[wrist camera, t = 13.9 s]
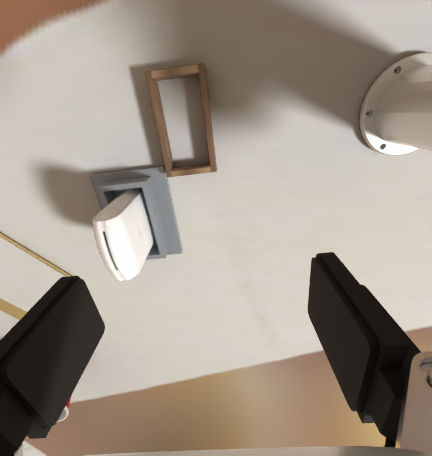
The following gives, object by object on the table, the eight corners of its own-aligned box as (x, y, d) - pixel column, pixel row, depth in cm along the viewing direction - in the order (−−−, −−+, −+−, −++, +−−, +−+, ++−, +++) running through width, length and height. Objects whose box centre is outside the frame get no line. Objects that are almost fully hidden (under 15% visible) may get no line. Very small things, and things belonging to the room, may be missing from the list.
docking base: (164, 165, 37) (158, 171, 34) (182, 250, 44) (179, 262, 41) (92, 174, 38) (79, 180, 34) (121, 256, 45) (113, 268, 41)
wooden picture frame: (204, 66, 31) (203, 63, 29) (216, 168, 37) (216, 171, 35) (150, 74, 32) (144, 72, 30) (170, 173, 38) (167, 177, 36)
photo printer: (158, 241, 42) (137, 287, 31) (135, 243, 43) (106, 289, 31) (144, 186, 38) (113, 217, 27) (119, 189, 38) (78, 221, 27)
